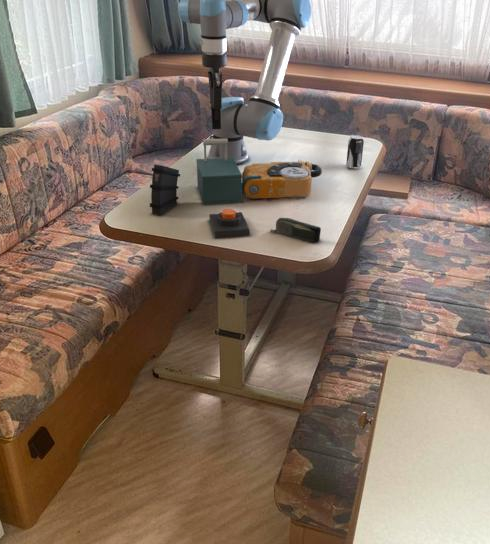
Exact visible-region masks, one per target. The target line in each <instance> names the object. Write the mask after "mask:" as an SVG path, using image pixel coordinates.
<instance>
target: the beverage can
mask: <svg viewBox="0 0 490 544" xmlns="http://www.w3.org/2000/svg"><path fill="white" fill-rule="evenodd" d="M364 142H365V140H364V138H363V136H362V135H360V134H351V135H350V137H349V139H348V142H347V152H346V161H345V165H346V167H348V168H349V169H353V170H355V169H356V170H357V169H360V168H361V167H362V162H363V153H364V145H365V144H364Z"/></svg>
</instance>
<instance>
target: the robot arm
mask: <svg viewBox="0 0 490 544" xmlns="http://www.w3.org/2000/svg"><path fill="white" fill-rule="evenodd" d="M177 9H178V11H177V14H178V16H179V18H180V20H181V21H182V22H183V23H188V24H190V25H191V24H195V25H200V31H201V32H200V41H199V45H200V46H201V51H202V54H201V62H202V63H201V65H202V66H203V67H204V68H207V69H209V71H207V78H208V90H209V91H208V92H209V104H210V107H209V110H210V111H211V113H210V114H211V129H212V135H210V136H209V139H228V145H227V158H233V159H234V161H235V163H236V164H237V165H240V164H244V163H246V162H247V161H248V160H249V152H248V147H247V144H246V143H245V140H244V137H246V138H251V139H255V140H256V139H257V140H259V141H273V140H274V139H275V138H276V137H277V136H278V135H279V134H280V132H281V129H282V126H283V124H284V123H283V122H284V114H283V111H282V110H281V105H280V103H279V98H280V94H281V90H282V86H283V83H284V79H285V75H286V72H287V68H288V64H289V60H290V57H291V53H292V49H293V45H294V41H295V38H297V37H298V36H300V35H301V31H302V29H305V28H308V26H309V25H310V22H311V18H312V6H311V0H179V3H178V6H177ZM248 21H249V22H251V21H252V22H253V21H254V22H259V23H264V24H269V27H270V29H271V33H270V36H269V41H268V43H267V44H268V45H267V47H266V52H265V57H264V59H263V63H262V68H261V71H260V74H259V78H258V82H257V86H256V88H255V89H256V90H255V94H254V95H252V96H250V97H249V99H248V103H245V100H244V98H243V97H240V96H228V97H222V95H223V93H222V92H223V80H222V79H223V73H222V72H221V68H225V67H227V64H228V63H227V62H228V60H227V59H228V58H227V57H228V56H227V54H226V52H227V30H229V29H233V28H239V27H242V26H244V25H245V24H246V23H247V22H248ZM214 158H225V145H210V148H209V152H208V159H214Z"/></svg>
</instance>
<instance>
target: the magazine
mask: <svg viewBox="0 0 490 544" xmlns="http://www.w3.org/2000/svg"><path fill="white" fill-rule="evenodd" d="M151 171H152V177H151V179H152V180H151V184H150V185H149V188H150V189H151V195H150V197H151V199H150V200H151V202H150V203H149V208H151V215H154V216H162V215H164V214H165V213H166V212H168V211H169V210H171V209H172V208H173V207H175V206H176V205H177V204H178V200H179V196H177V195H178V194H177V192H178V191H177V190H178V189H179V188H180V186H178V179H179V178H180V177H181V173H180V169H177V168H173V167H169V166H165V165H161V164H154V165H153V167H152V168H151Z"/></svg>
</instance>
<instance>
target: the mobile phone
mask: <svg viewBox="0 0 490 544" xmlns="http://www.w3.org/2000/svg"><path fill="white" fill-rule="evenodd" d="M321 230H322V228H321V227H320V226H317V225H314V224H310V223H307V222H303V221H300V220H297V219H294V218H292V217H291V218H290V217H279V218H278V219H277V220H276V221H275V229H270V232H271V233H276V234H280V235H282V236H287V237H291V238H294V239H297V240H301V241H304V242H309V243H312V244H313V243H318V242H319V241H320V240H321V232H322V231H321Z"/></svg>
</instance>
